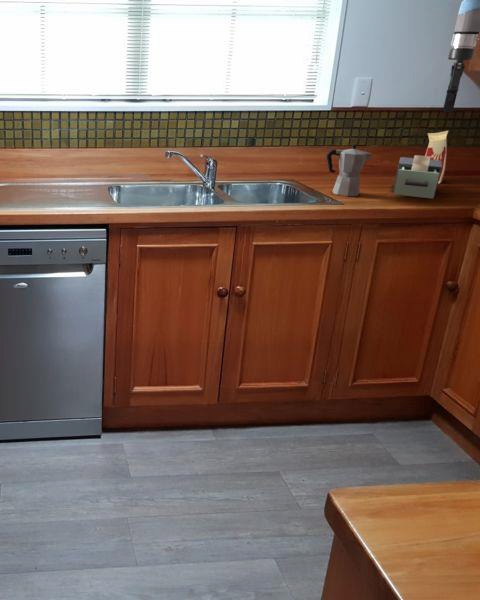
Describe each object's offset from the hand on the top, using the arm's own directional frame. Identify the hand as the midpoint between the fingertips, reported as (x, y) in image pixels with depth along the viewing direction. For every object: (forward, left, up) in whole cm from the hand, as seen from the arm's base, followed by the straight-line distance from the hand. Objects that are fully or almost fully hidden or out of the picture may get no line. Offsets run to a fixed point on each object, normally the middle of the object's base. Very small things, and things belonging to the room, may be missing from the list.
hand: (447, 111), depth 221 cm
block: (+5, +19, -20) cm, 28 cm away
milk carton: (0, -19, -29) cm, 35 cm away
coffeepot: (+28, +26, -29) cm, 48 cm away
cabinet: (+5, +6, -29) cm, 30 cm away
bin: (+5, +18, -28) cm, 33 cm away
